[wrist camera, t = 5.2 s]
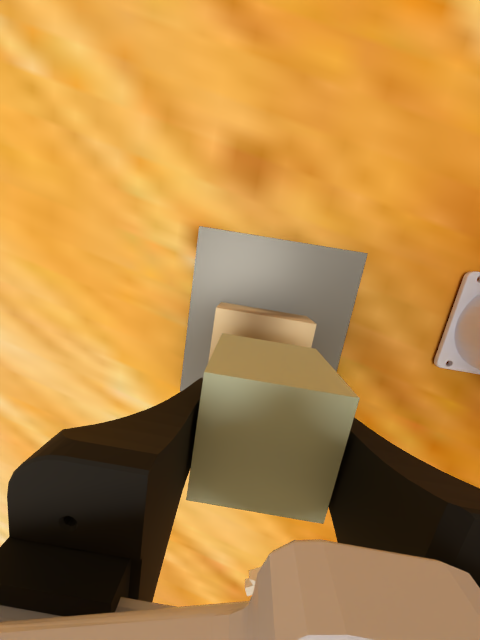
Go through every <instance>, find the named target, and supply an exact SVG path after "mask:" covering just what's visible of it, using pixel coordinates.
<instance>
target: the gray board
mask: <svg viewBox="0 0 480 640" xmlns="http://www.w3.org/2000/svg"><path fill="white" fill-rule="evenodd" d="M366 258H367V253H361V252H355V251H349V250H343V249H337V248H330V247H324V246H318V245H312V244H306V243H300V242H293V241H287V240H281V239H275V238H269V237H263V236H256V235H250V234H244V233H238V232H232V231H226V230H219V229H213V228H207V227H201V226H199V233H198V241H197V250H196V259H195V267H194V276H193V284H192V293H191V301H190V310H189V319H188V327H187V336H186V344H185V353H184V361H183V370H182V379H181V387H180V391H183V390H184V389H186V388H187V387H188V386H190V385H191V384H193V383H194V382H195V381H197V380H198V379H200V378H203V376H204V371H205V369H206V367H207V365H208V361H209V354H210V347H211V340H212V332H213V325H214V318H215V311H216V307H217V306H218V305H219V304H220V303H221V302H224V303H230V304H236V305H242V306H248V307H254V308H260V309H266V310H273V311H279V312H285V313H291V314H297V315H303V316H307V317H308V318H309V319H311V320H312V321H313V322H315V323H316V324H317V325H316V329H315V334H314V338H313V342H312V347H311V348H314V349H316V350H317V351H318V352H319V353H320V354H321V355H322V356H323V357H324V359H325V360H326V361H327V362H328V363H329V364H330V365H331V366H332V368H333V369H334V370H335V371H337V368H338V364H339V360H340V356H341V352H342V349H343V345H344V341H345V337H346V333H347V330H348V326H349V322H350V318H351V315H352V311H353V307H354V303H355V299H356V296H357V292H358V288H359V284H360V280H361V277H362V273H363V269H364V265H365V262H366Z"/></svg>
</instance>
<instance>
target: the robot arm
mask: <svg viewBox="0 0 480 640" xmlns="http://www.w3.org/2000/svg"><path fill="white" fill-rule="evenodd" d="M478 277H479V280H478V282H477V278H478ZM447 361H449V362H448V364H446V363H447ZM434 364H435V365H436V366H438V367H440V368H445V369H451V370H457V371H463V372H469V373H475V374H480V272H468V273H466V274H465V275H464V277H463V280H462V283H461V286H460V288H459V291H458V294H457V297H456V300H455V303H454V305H453V308H452V311H451V314H450V317H449V320H448V322H447V325H446V328H445V331H444V334H443V336H442V339H441V342H440V345H439V348H438V351H437V353H436V356H435V359H434ZM202 383H203V378H200V379H198V380H197V381H195V382H194V383H193V384H191V385H190V386H188V387H187V388H186V389H184V390H183V391H181V392H180V393H178V394H176V395H175V396H173V397H171V398H170V399H168V400H166V401H164V402H162V403H160V404H158V405H156V406H154V407H151V408H149V409H147V410H144V411H141V412H138V413H136V414H133V415H130V416H127V417H124V418H120V419H116V420H112V421H108V422H104V423H99V424H94V425H88V426H82V427H76V428H70V429H63V430H62V431H61V432H59V433H58V434H57V435H56V436H54V437H53V438H52V439H51V440H49V441H48V442H47V443H46V444H45V445H44V446H42V447H41V448H40V449H39V450H38V451H36V452H35V453H34V454H33V455H32V456H31V457H29V458H28V459H27V460H26V461H25V462H23V463H22V464H21V465H20V466H19V467H18V468H17V469H16V470H15V471H14V472H13V475H12V477H11V479H10V481H9V484H8V494H7V501H8V518H9V536H10V537H9V538H8V539H7V540H6V541H5V542H4V543H3V545H2V546H1V547H0V640H480V488H477V487H475V486H473V485H471V484H468V483H466V482H464V481H462V480H459V479H457V478H455V477H453V476H451V475H449V474H447V473H444V472H442V471H440V470H438V469H436V468H435V467H433V466H431V465H429V464H427V463H425V462H423V461H421V460H419V459H417V458H416V457H414V456H412V455H410V454H408V453H407V452H405V451H403V450H402V449H400V448H398V447H397V446H395V445H393V444H392V443H390V442H389V441H387V440H386V439H384V438H383V437H381V436H380V435H378V434H377V433H375V432H374V431H372V430H371V429H369V428H368V427H367V426H365V425H364V424H363V423H361V422H360V421H358V420H357V419H356V418H354V419H353V423H352V426H351V430H350V433H349V437H348V440H347V443H346V447H345V450H344V454H343V457H342V461H341V464H340V468H339V471H338V475H337V478H336V482H335V485H334V489H333V492H332V496H331V499H330V503H329V510H330V513H331V517H332V521H333V525H334V529H335V533H336V537H337V541H338V543H336V542H331V541H325V540H294V541H292V542H290V543H288V544H286V545H284V546H282V547H280V548H278V549H276V550H274V551H272V552H271V553H270V554H269V556H268V557H267V559H266V561H265V562H264V564H263V565H262V567H261V568H260V570H259V572H258V573H257V578H256V582H255V586H254V590H253V595H252V597H251V600H250V601H245V602H233V603H221V604H209V605H197V606H185V607H175V606H169V605H163V604H158V603H152V601H153V597H154V593H155V589H156V586H157V582H158V578H159V574H160V571H161V567H162V563H163V559H164V556H165V552H166V548H167V544H168V541H169V537H170V534H171V530H172V526H173V523H174V519H175V515H176V512H177V508H178V505H179V501H180V498H181V494H182V490H183V487H184V484H185V481H186V479H187V476H188V473H189V471H190V468H191V462H192V455H193V448H194V441H195V434H196V426H197V419H198V412H199V405H200V398H201V390H202Z"/></svg>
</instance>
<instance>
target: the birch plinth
mask: <svg viewBox="0 0 480 640" xmlns="http://www.w3.org/2000/svg"><path fill="white" fill-rule="evenodd" d="M316 325H317V324H316V323H315V322H313V321H312V320H311V319H309V318H308V317H307V316H303V315H297V314H291V313H285V312H279V311H273V310H266V309H260V308H254V307H248V306H242V305H236V304H230V303H224V302H221V303H220V304H219V305H218V306H217V307H216V311H215V318H214V325H213V332H212V340H211V347H210V354H209V360H210V358H211V356H212V354H213V352H214V350H215V348H216V345H217V343H218V341H219V339H220V337H221V335H222V333H224V334H230V335H236V336H242V337H248V338H254V339H260V340H266V341H272V342H278V343H284V344H290V345H296V346H302V347H308V348H311V347H312V342H313V338H314V334H315V329H316ZM208 362H209V361H208Z"/></svg>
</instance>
